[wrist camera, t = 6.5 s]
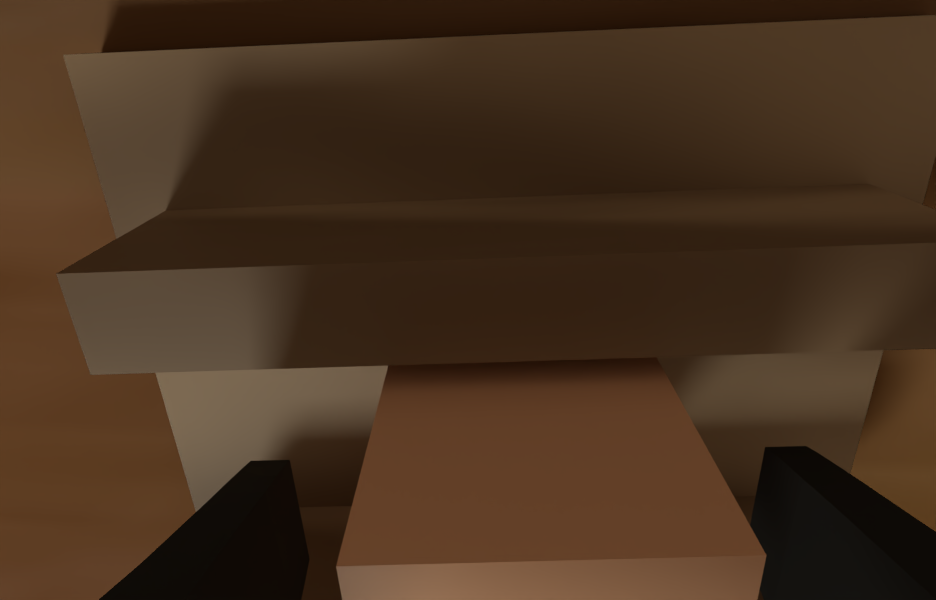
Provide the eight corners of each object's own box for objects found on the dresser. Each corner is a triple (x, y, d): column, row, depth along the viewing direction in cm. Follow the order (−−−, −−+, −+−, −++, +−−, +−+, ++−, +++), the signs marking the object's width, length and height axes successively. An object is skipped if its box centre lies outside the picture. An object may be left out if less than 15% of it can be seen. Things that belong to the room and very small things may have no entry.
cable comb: (750, 750, 18) (820, 933, 14) (288, 757, 19) (241, 935, 15) (929, 14, 10) (1188, 5, 6) (99, 53, 10) (-105, 64, 7)
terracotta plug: (611, 470, 13) (714, 803, 7) (421, 475, 13) (381, 808, 7) (622, 295, 11) (766, 555, 6) (404, 303, 11) (336, 566, 6)
